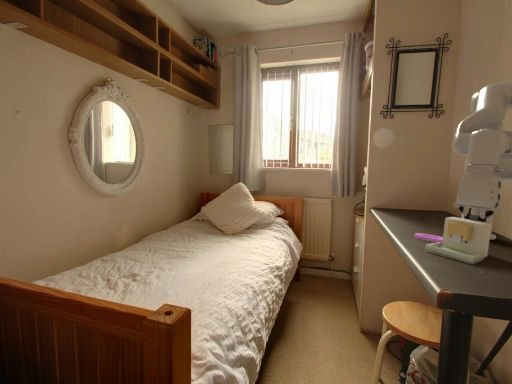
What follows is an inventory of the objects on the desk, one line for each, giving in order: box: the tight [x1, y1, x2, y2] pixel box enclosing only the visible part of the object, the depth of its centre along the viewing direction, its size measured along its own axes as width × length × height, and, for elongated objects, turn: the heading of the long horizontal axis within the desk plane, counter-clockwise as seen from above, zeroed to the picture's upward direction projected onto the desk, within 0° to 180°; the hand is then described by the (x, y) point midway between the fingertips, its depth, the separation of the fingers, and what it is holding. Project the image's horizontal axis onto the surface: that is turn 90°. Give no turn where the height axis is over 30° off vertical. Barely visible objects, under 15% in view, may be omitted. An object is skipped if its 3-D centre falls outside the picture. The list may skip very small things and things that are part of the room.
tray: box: [424, 242, 486, 265], centre depth 79 cm, size 8×12×2 cm, turn 31°
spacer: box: [447, 222, 473, 241], centre depth 79 cm, size 3×5×4 cm
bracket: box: [414, 232, 443, 245], centre depth 95 cm, size 13×6×7 cm, turn 45°
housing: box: [441, 216, 493, 258], centre depth 82 cm, size 5×10×10 cm, turn 31°
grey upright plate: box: [451, 215, 480, 244], centre depth 82 cm, size 13×2×7 cm, turn 121°
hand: (473, 228), depth 85 cm, fingers closed on grey upright plate, 2 cm apart
